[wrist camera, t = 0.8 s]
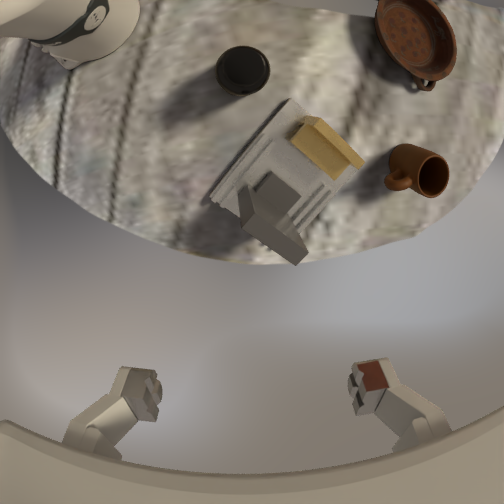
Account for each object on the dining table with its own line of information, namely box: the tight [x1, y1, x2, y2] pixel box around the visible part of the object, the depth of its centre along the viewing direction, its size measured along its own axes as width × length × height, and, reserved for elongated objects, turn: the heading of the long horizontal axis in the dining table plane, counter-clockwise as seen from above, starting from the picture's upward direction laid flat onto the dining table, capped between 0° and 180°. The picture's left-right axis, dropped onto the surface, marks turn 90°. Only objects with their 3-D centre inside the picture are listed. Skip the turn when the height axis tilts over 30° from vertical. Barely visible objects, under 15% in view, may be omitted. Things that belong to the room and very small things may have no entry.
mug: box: [384, 144, 449, 198], centre depth 41 cm, size 12×8×9 cm, turn 110°
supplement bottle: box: [215, 46, 270, 96], centre depth 31 cm, size 7×7×12 cm
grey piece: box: [209, 98, 365, 234], centre depth 42 cm, size 16×20×8 cm
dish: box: [375, 0, 457, 91], centre depth 31 cm, size 18×22×5 cm
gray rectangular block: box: [238, 171, 309, 266], centre depth 40 cm, size 9×6×12 cm
